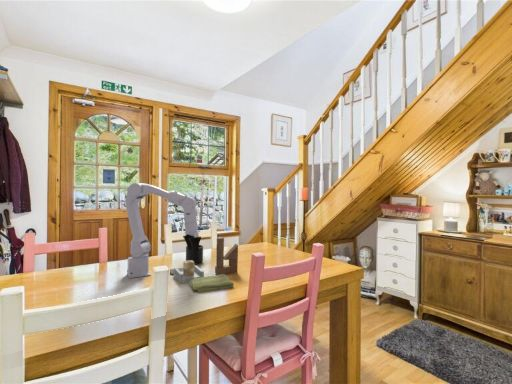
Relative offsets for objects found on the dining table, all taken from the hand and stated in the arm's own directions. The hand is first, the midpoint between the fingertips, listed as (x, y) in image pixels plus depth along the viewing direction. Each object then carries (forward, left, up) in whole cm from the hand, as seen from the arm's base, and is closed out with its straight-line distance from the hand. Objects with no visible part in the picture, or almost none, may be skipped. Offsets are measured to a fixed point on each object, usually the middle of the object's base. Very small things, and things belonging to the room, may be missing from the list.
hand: (193, 250), depth 135 cm
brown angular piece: (+17, -2, -13) cm, 21 cm away
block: (-2, -1, -11) cm, 11 cm away
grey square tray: (-2, -1, -13) cm, 13 cm away
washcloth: (+4, -15, -13) cm, 20 cm away
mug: (+9, +23, -13) cm, 28 cm away
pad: (-3, +10, -13) cm, 17 cm away
